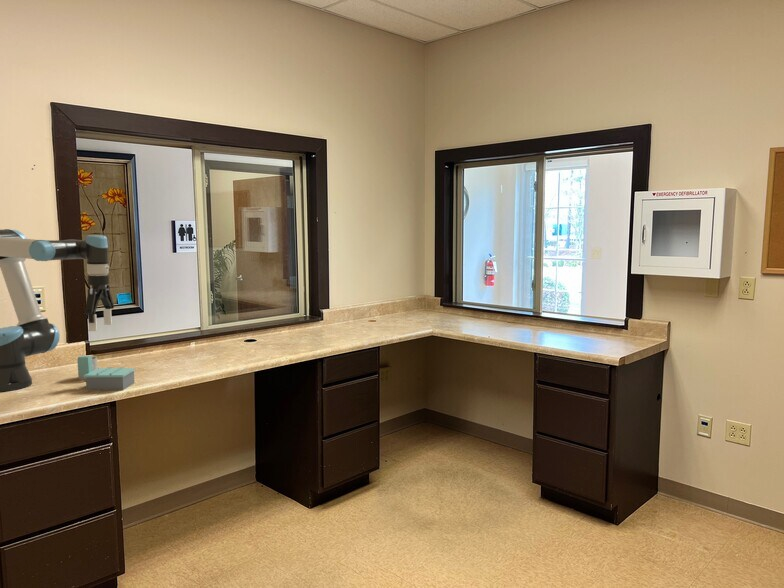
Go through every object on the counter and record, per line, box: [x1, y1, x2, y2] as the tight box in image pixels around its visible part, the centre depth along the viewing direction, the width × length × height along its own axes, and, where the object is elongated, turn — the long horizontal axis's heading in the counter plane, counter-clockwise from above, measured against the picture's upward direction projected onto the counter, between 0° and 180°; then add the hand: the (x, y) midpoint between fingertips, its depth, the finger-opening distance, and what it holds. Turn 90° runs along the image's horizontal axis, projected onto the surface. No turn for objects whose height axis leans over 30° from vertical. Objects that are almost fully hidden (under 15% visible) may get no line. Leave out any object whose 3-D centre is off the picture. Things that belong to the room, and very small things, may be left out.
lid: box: [77, 354, 136, 377], centre depth 221 cm, size 19×11×7 cm, turn 91°
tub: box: [85, 371, 135, 391], centre depth 222 cm, size 14×10×6 cm
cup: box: [76, 356, 99, 381], centre depth 234 cm, size 7×10×9 cm
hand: (100, 327), depth 225 cm, fingers open, 13 cm apart
